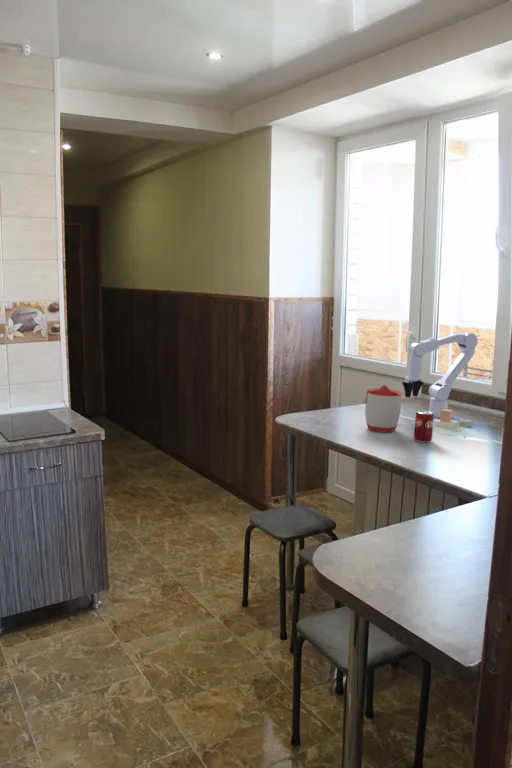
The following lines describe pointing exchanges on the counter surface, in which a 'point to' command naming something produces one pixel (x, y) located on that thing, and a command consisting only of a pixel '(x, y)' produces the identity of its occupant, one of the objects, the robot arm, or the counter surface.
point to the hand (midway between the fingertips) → (411, 396)
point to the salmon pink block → (446, 415)
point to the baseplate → (450, 428)
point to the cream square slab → (446, 423)
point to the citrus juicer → (382, 409)
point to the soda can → (423, 426)
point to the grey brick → (464, 423)
